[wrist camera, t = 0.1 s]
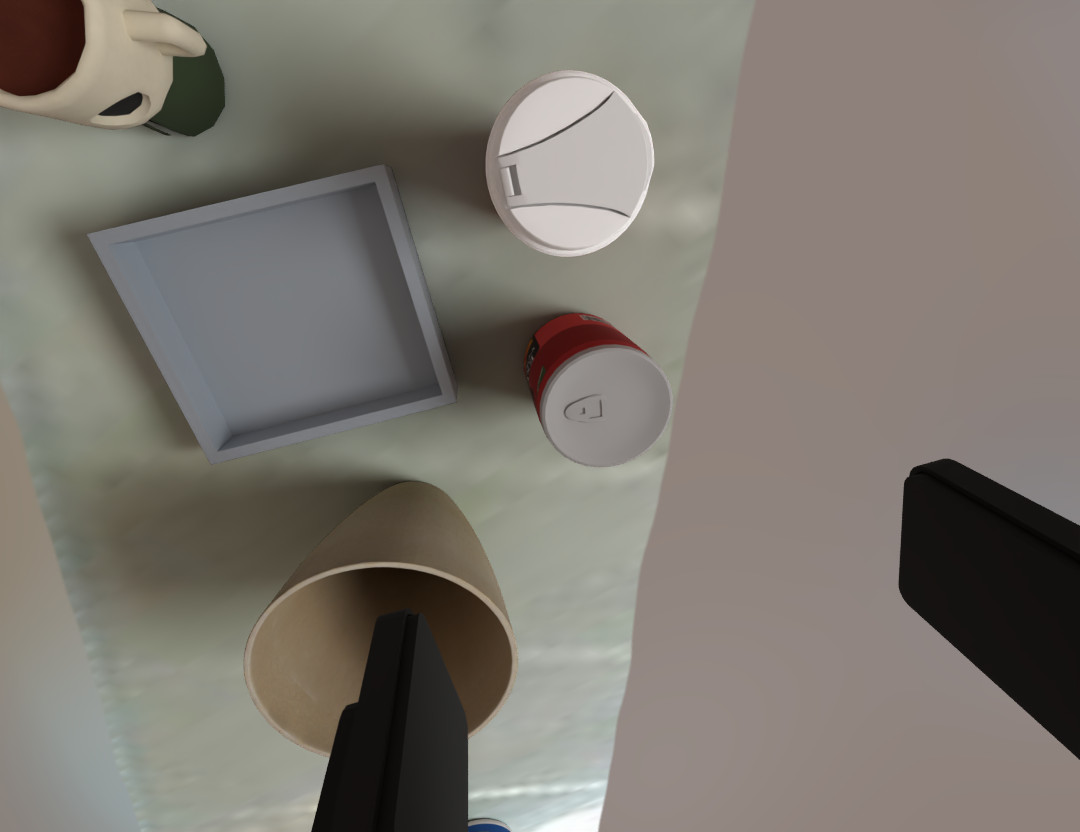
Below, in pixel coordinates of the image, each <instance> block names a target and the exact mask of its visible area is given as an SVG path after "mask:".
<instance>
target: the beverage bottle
mask: <svg viewBox="0 0 1080 832" xmlns="http://www.w3.org/2000/svg"><path fill="white" fill-rule="evenodd" d="M468 832H512V830H511V829H510V828H509V827H508V826H507V825H506V824H504V823H502V822H500V821H497V820H492V819H479V820H473V821H470V822H468Z"/></svg>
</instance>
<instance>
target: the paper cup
mask: <svg viewBox="0 0 1080 832" xmlns="http://www.w3.org/2000/svg"><path fill="white" fill-rule="evenodd" d="M653 168H654V149H653V144H652V138H651V134H650V131H649V128H648V125H647V122H646V121H645V120H644V119H643V117H642V116H641V115H640V113H639V112H638V111H637V109H636V108H635V107H634V105H633V104H632V102H631V101H630V100H629V98H628V97H627V96H626V95H625V94H624V93H623V92H622V91H621V90H620V89H619V88H617V87H616V86H614V85H613V84H611V83H610V82H609V81H607V80H605V79H603V78H601V77H599V76H597V75H594V74H590V73H586V72H583V71H571V70H566V71H557V72H552V73H549V74H546V75H542V76H540V77H538V78H536V79H534V80H532V81H530V82H528V83H527V84H526V85H524V86H523V87H522V88H520V89H519V90H518V91H516V93H515V94H514V95H513V96H512V97H511V98H510V99H509V100H508V101H507V102H506V104H505V105H504V107H503V108H502V110H501V111H500V113H499V114H498V116H497V118H496V121H495V123H494V125H493V127H492V130H491V133H490V137H489V140H488V144H487V151H486V178H487V185H488V190H489V193H490V196H491V200H492V202H493V204H494V207H495V209H496V211H497V213H498V215H499V216H500V218H501V219H502V221H503V222H504V224H505V225H506V226H507V227H508V229H509V230H510V231H511V232H512V233H513V234H514V235H515V236H516V237H517V238H519V239H520V240H521V241H522V242H524V243H525V244H527V245H528V246H530V247H532V248H534V249H535V250H538V251H541V252H543V253H546V254H550V255H555V256H568V257H572V256H579V255H585V254H588V253H591V252H594V251H597V250H599V249H601V248H603V247H605V246H607V245H608V244H610V243H611V242H612V241H614V240H615V239H617V238H618V237H619V236H620V235H621V234H622V233H623V232H624V231H625V230H626V229H627V228H628V227H629V225H630V224H631V223H632V221H633V220H634V219H635V217H636V215H637V214H638V212H639V210H640V208H641V207H642V204H643V201H644V199H645V196H646V194H647V190H648V186H649V182H650V178H651V174H652V171H653Z"/></svg>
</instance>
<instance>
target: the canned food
mask: <svg viewBox="0 0 1080 832" xmlns="http://www.w3.org/2000/svg"><path fill="white" fill-rule="evenodd" d="M524 372H525V377H526V380H527V383H528V387H529V390H530V393H531V396H532V399H533V402H534V405H535V408H536V411H537V414H538V417H539V420H540V423H541V425H542V428H543V430H544V432H545V434H546V436H547V438H548V439H549V441H550V442H551V444H552V445H553V446H554V448H555V449H556V450H557V451H558V452H560V453H561V454H562V455H563V456H564V457H566V458H568V459H570V460H571V461H573V462H575V463H578V464H582V465H585V466H591V467H611V466H615V465H620V464H623V463H626V462H628V461H631V460H633V459H635V458H637V457H638V456H640V455H642V454H643V453H645V452H646V451H647V450H648V449H650V448H651V447H652V446H653V445H654V444H655V443H656V442H657V440H658V439H659V438H660V437H661V435H662V434H663V432H664V430H665V429H666V427H667V425H668V422H669V419H670V416H671V413H672V405H673V398H672V389H671V386H670V383H669V381H668V378H667V377H666V375H665V373H664V372H663V370H662V369H661V367H660V366H659V365H658V364H657V363H656V362H655V361H654V360H653V359H652V358H651V357H650V356H649V355H648V354H647V353H646V352H645V351H643V350H642V349H641V348H640V347H638V346H637V345H636V344H635V343H633V342H632V341H631V340H630V339H628V338H627V337H626V336H625V335H623V334H622V333H621V332H620V331H618V330H617V329H616V328H615V327H613V326H612V325H611V324H610V323H608V322H607V321H605V320H603V319H602V318H599V317H597V316H594V315H590V314H584V313H572V314H567V315H563V316H560V317H557V318H555V319H553V320H551V321H549V322H548V323H546V324H545V325H543V326H542V327H541V328H540V329H539V330H538V331H537V332H536V333H535V335H534V336H533V338H532V339H531V340H530V342H529V345H528V347H527V349H526V352H525V357H524Z"/></svg>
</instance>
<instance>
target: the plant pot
mask: <svg viewBox="0 0 1080 832" xmlns="http://www.w3.org/2000/svg"><path fill="white" fill-rule="evenodd" d="M405 608H410V609H411V610H412V611H413V613H414V615H415V614H418V613H422V614H423V615H424V616H425V618H426V621H427V623H428V625H429V628H430V630H431V633H432V635H433V637H434V640H435V642H436V644H437V647H438V649H439V651H440V654H441V656H442V659H443V661H444V663H445V666H446V668H447V670H448V673H449V675H450V677H451V680H452V682H453V685H454V687H455V689H456V692H457V694H458V696H459V699H460V701H461V704H462V706H463V708H464V711H465V715H466V719H467V726H468V739H469V738H470V737H472V736H473V735H475V734H476V733H477V732H479V731H480V730H481V729H482V728H484V727H485V726H486V725H487V724H488V723H489V722H490V721H491V720H492V719H493V718H494V717H495V716H496V715H497V713H498V712H499V711H500V710H501V708H502V707H503V705H504V704H505V702H506V701H507V699H508V697H509V695H510V693H511V691H512V688H513V686H514V683H515V680H516V675H517V668H518V653H517V646H516V641H515V637H514V634H513V630H512V627H511V624H510V620H509V617H508V613H507V610H506V607H505V603H504V600H503V597H502V594H501V591H500V588H499V585H498V582H497V580H496V577H495V574H494V572H493V569H492V567H491V564H490V562H489V560H488V558H487V556H486V553H485V551H484V549H483V547H482V545H481V543H480V541H479V539H478V537H477V535H476V534H475V532H474V530H473V528H472V527H471V525H470V523H469V522H468V520H467V519H466V517H465V516H464V514H463V513H462V512H461V510H460V509H459V508H458V506H457V505H456V504H455V503H454V502H453V500H452V499H451V498H450V497H449V496H448V495H447V494H446V493H445V492H444V491H442V490H441V489H439V488H437V487H435V486H433V485H431V484H428V483H423V482H416V481H410V482H403V483H399V484H395V485H393V486H391V487H389V488H387V489H385V490H383V491H382V492H380V493H378V494H377V495H375V496H374V497H372V498H371V499H369V500H368V501H367V502H365V503H364V504H363V505H361V506H360V507H359V508H357V509H356V510H355V511H354V512H353V513H351V514H350V515H349V516H348V517H347V518H346V519H344V520H343V521H342V522H341V523H340V524H339V525H338V526H337V527H336V528H335V529H334V530H333V531H332V532H331V533H329V534H328V535H327V536H326V537H325V538H324V539H323V540H322V541H321V543H320V544H319V545H318V546H317V547H316V548H315V549H314V550H313V551H312V552H311V553H310V554H309V555H308V557H307V558H306V559H305V560H304V561H303V562H302V564H301V565H300V566H299V567H298V569H297V570H296V571H295V572H294V574H293V575H292V576H291V577H290V579H289V580H288V581H287V582H286V584H285V585H284V586H283V587H282V589H281V590H280V591H279V592H278V594H277V595H276V596H275V598H274V599H273V600H272V602H271V603H270V604H269V606H268V607H267V608H266V609H265V611H264V612H263V613H262V615H261V616H260V617H259V619H258V620H257V622H256V624H255V625H254V627H253V629H252V631H251V633H250V636H249V638H248V641H247V645H246V648H245V654H244V676H245V680H246V684H247V688H248V690H249V693H250V695H251V698H252V700H253V702H254V704H255V705H256V707H257V709H258V710H259V711H260V713H261V714H262V715H263V717H264V718H265V719H266V721H267V722H268V723H269V724H270V725H271V726H272V727H273V728H274V729H275V730H277V731H278V732H279V733H280V734H282V735H283V736H284V737H286V738H287V739H289V740H290V741H292V742H294V743H295V744H297V745H299V746H301V747H303V748H305V749H307V750H309V751H312V752H314V753H317V754H320V755H322V756H325V757H329V758H330V755H331V751H332V747H333V743H334V739H335V735H336V731H337V727H338V723H339V719H340V716H341V713H342V711H343V710H344V708H345V707H346V706H347V705H349V704H352V703H356V702H358V700H359V695H360V691H361V686H362V681H363V677H364V672H365V668H366V663H367V659H368V654H369V650H370V645H371V640H372V636H373V631H374V627H375V622H376V620H377V618H378V617H379V616H380V615H384V614H388V613H391V612H395V611H398V610H402V609H405Z"/></svg>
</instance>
